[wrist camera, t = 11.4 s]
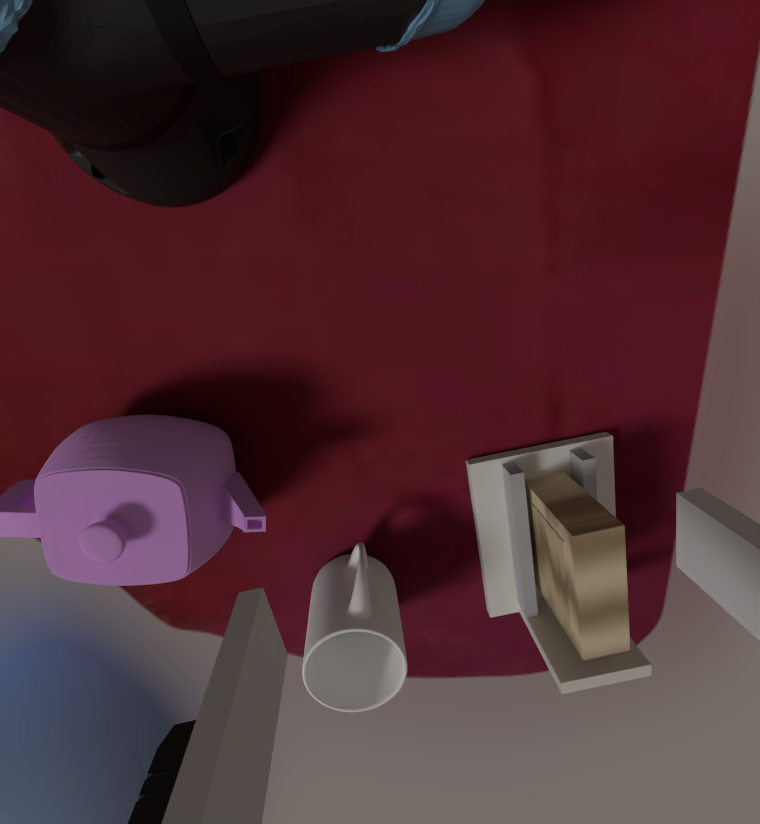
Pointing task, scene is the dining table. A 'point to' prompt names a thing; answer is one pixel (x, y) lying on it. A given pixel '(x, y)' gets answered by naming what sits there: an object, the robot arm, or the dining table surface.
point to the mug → (354, 635)
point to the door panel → (579, 563)
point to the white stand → (512, 554)
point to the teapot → (133, 501)
